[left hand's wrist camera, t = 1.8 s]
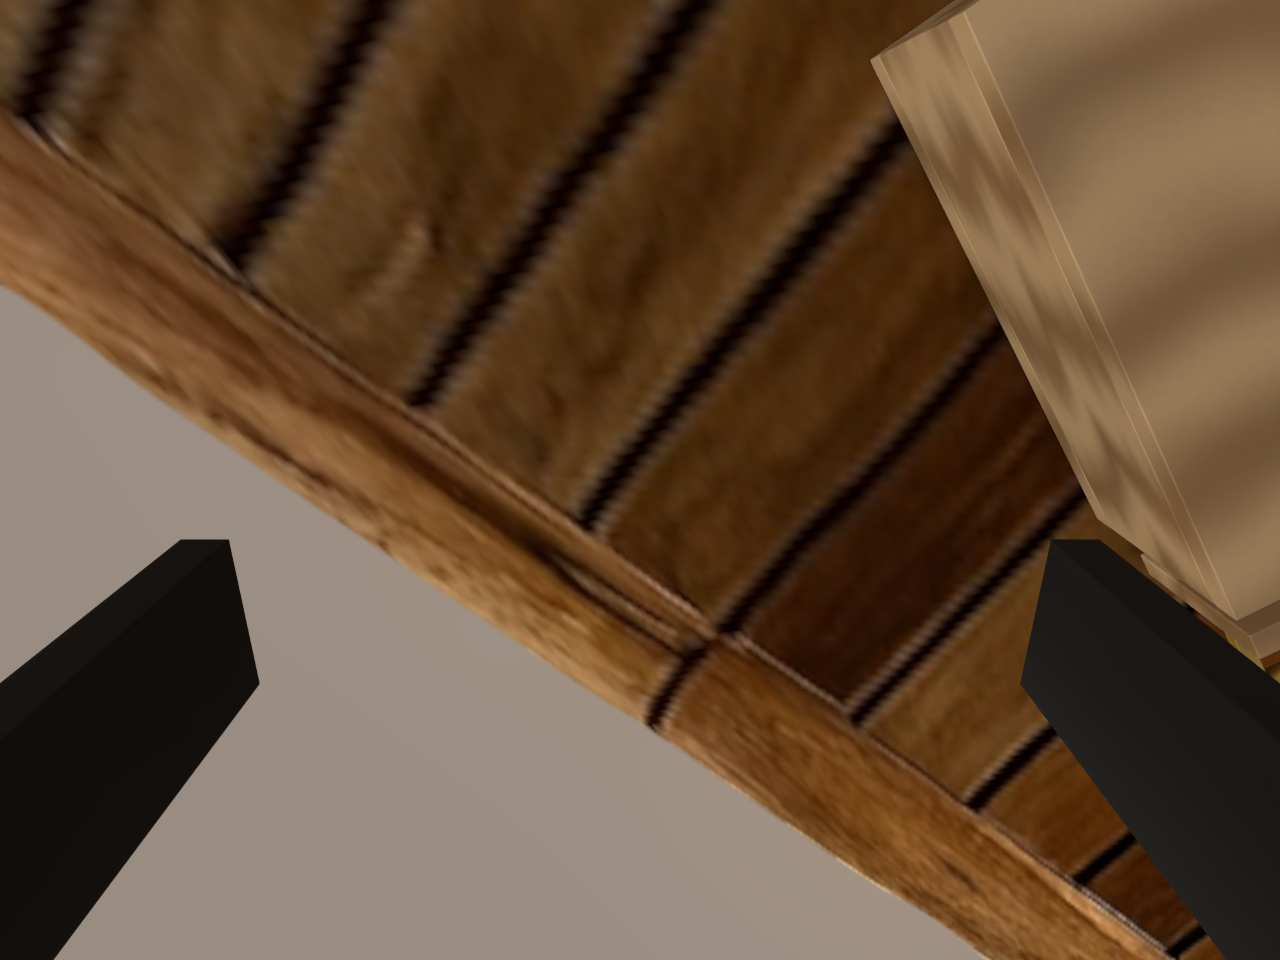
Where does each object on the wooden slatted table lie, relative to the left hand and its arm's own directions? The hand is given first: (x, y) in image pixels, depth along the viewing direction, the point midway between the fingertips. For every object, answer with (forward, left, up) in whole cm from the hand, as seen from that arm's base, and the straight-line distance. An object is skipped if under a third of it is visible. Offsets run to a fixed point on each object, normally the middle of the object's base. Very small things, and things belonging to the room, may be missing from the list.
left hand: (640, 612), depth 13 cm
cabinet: (-14, +13, -20) cm, 28 cm away
